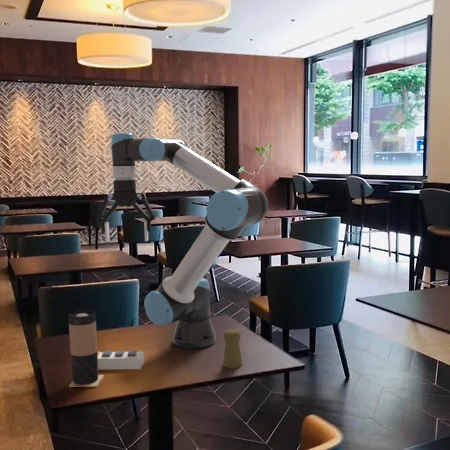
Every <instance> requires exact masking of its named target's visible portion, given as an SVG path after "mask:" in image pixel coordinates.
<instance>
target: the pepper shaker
mask: <svg viewBox="0 0 450 450" xmlns="http://www.w3.org/2000/svg"><path fill="white" fill-rule="evenodd" d="M223 339H224V341H225V345H224V353H223V355H224V356H223V362H222V363H223V364H222V365H223V367H224V368H228V369H237V368H240V367H242V366H243V360H242V359H243V358H242V353H241V347H240V346H241V345H240V342H239V341H240V340H241V333H240V331H239V330H237V329H228V330H225V331H224V333H223Z"/></svg>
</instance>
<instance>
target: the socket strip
mask: <svg viewBox="0 0 450 450" xmlns="http://www.w3.org/2000/svg"><path fill="white" fill-rule="evenodd" d="M97 351H98V371H99V370H101V371H102V370H105V371H106V370H110V371H111V370H141V369H142V368H143V365H144V363H145V355H144V353H145V352H144V351H137V350H129V351H125V350H115V351H112V350H104V351H103V352H102V351H100V350H97Z"/></svg>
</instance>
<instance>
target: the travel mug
mask: <svg viewBox="0 0 450 450" xmlns="http://www.w3.org/2000/svg"><path fill="white" fill-rule="evenodd" d="M96 320H97V319H96V311H93V310H90V309H89V310H87V309H84V310H83V309H82V310H77V311H74V313H72V314H71V313H69V314H68V329H69V330H68V331H69V332H68V333H69V348H70V349H69V350H70V362H71V374H72V381H73V382H74V383H75V384H78V385H86V384H91V383H94V382H96V381H97V380H98V375H99V370H98V351H99V350H98V337H97V321H96Z"/></svg>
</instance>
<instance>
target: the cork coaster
mask: <svg viewBox="0 0 450 450" xmlns="http://www.w3.org/2000/svg"><path fill="white" fill-rule="evenodd" d="M104 376H105V375H104V374H98V380H97V381H96V382H94V383H91V384H86V385H78V384H75V383H74V382H73V380H72V381H71V383H70V384H69V385H68V388H69V387H96V388H98V387H99V385H100V384H101V382H102V381H103V380H104ZM99 383H100V384H99ZM97 386H98V387H97Z"/></svg>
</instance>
